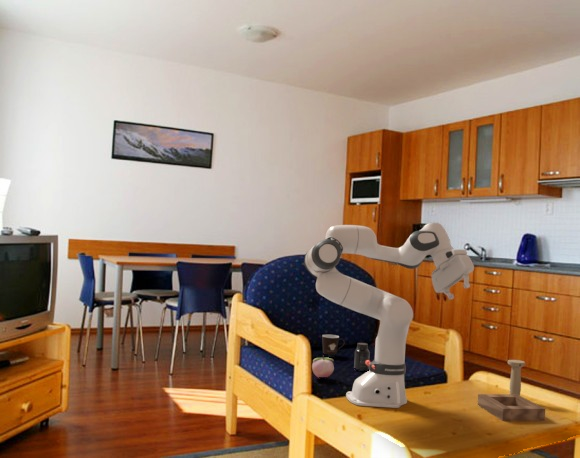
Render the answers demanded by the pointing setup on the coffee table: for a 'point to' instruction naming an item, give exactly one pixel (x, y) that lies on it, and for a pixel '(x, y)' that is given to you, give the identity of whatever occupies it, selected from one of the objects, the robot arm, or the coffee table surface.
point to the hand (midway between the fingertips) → (459, 293)
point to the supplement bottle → (361, 356)
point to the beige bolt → (515, 376)
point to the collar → (511, 407)
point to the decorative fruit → (322, 367)
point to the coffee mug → (331, 344)
